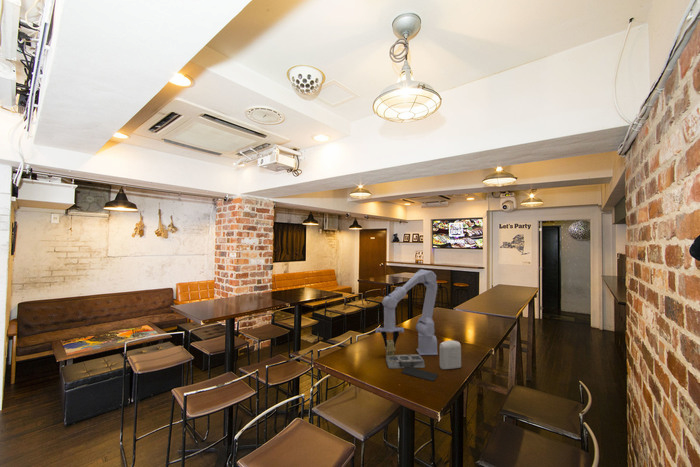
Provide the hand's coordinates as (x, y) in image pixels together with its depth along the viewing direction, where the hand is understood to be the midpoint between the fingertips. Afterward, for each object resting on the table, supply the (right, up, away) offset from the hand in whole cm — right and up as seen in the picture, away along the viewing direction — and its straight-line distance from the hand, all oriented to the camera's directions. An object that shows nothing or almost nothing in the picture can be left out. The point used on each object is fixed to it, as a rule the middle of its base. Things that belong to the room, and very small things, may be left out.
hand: (390, 346), depth 145 cm
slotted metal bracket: (+6, -5, -9) cm, 12 cm away
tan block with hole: (0, -4, 0) cm, 4 cm away
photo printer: (+27, -5, -13) cm, 30 cm away
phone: (+10, -5, -19) cm, 22 cm away
